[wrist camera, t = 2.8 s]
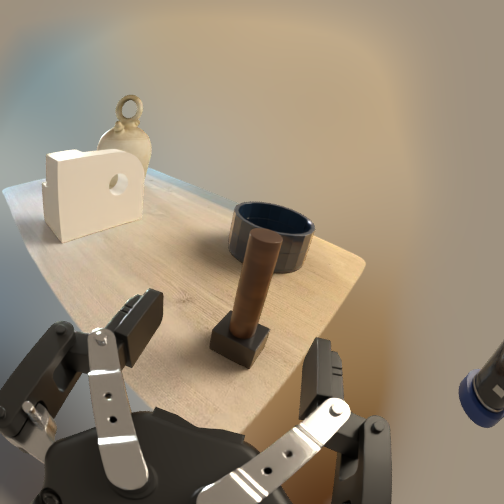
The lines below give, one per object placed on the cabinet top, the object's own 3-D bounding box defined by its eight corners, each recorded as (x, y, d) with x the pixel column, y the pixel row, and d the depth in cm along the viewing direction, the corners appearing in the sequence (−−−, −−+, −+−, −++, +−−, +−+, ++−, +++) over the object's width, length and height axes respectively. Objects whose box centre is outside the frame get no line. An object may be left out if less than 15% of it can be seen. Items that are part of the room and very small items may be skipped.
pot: (311, 251, 56) (322, 220, 53) (290, 283, 44) (303, 245, 40) (248, 227, 60) (255, 196, 57) (212, 250, 48) (218, 213, 45)
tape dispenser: (62, 243, 39) (57, 161, 32) (44, 220, 44) (41, 151, 37) (141, 218, 53) (147, 149, 47) (114, 201, 58) (117, 141, 51)
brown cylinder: (264, 346, 31) (300, 238, 24) (249, 369, 27) (286, 254, 21) (226, 328, 32) (250, 219, 26) (208, 348, 29) (229, 231, 22)
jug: (118, 174, 77) (127, 95, 66) (158, 183, 75) (170, 97, 63) (84, 185, 64) (91, 94, 52) (124, 197, 62) (135, 94, 50)
